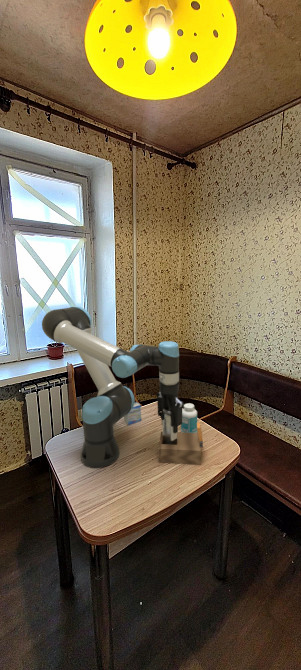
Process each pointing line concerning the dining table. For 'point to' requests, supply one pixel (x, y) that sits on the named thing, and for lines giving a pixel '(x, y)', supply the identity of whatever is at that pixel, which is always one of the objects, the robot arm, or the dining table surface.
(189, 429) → the pill bottle
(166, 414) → the steel pin
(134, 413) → the medicine box
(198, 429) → the plate
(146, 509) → the dining table surface
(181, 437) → the block
